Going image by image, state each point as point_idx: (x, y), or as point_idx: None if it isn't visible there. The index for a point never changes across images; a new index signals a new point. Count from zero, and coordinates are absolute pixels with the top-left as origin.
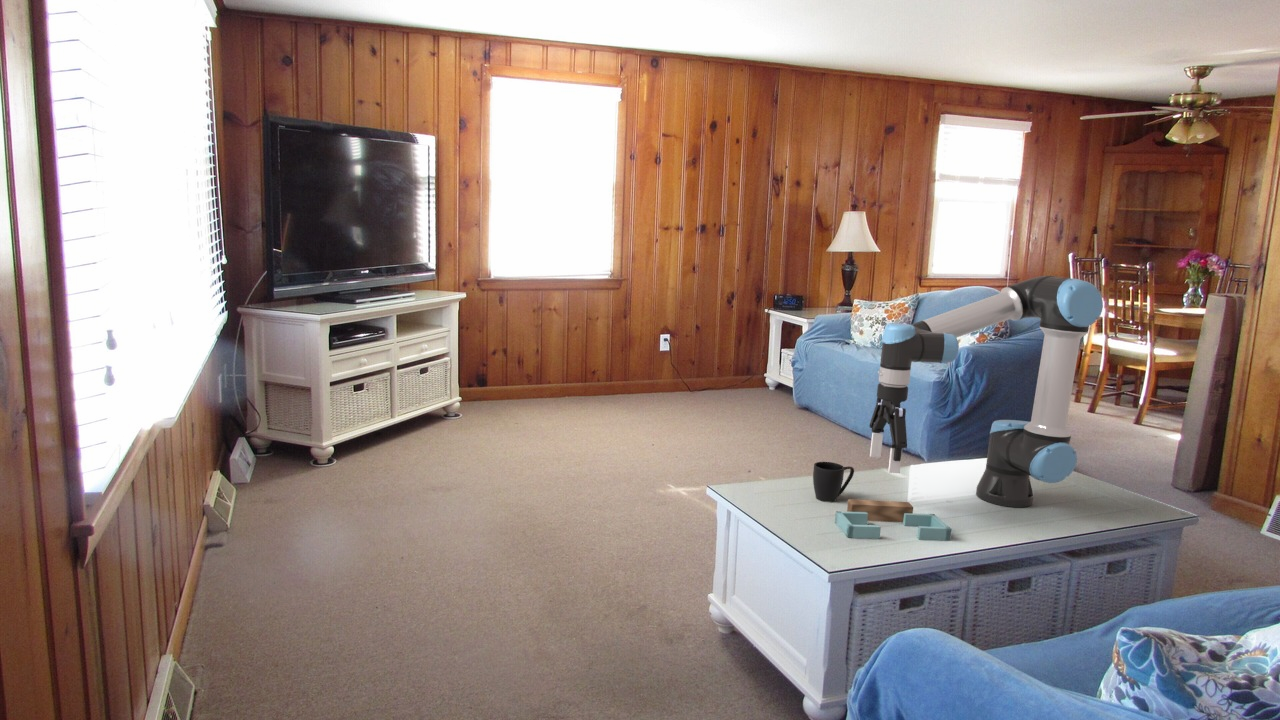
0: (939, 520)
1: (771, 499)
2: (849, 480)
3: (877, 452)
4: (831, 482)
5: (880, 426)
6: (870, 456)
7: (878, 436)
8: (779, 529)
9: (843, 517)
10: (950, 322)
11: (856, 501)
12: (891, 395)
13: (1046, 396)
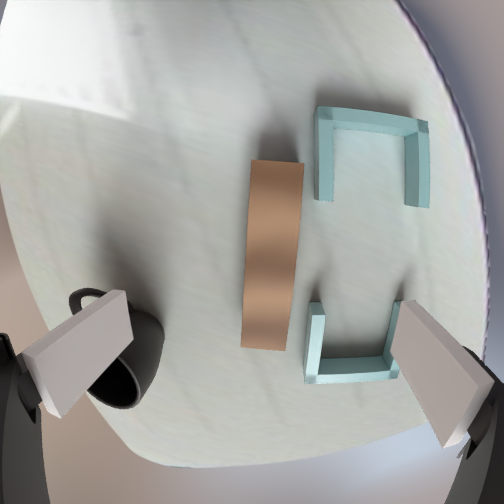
0: (371, 117)
1: (176, 424)
2: (102, 293)
3: (114, 320)
4: (154, 367)
5: (24, 434)
6: (128, 339)
7: (58, 376)
8: (330, 447)
9: (346, 378)
10: None
11: (259, 331)
12: None
13: None
